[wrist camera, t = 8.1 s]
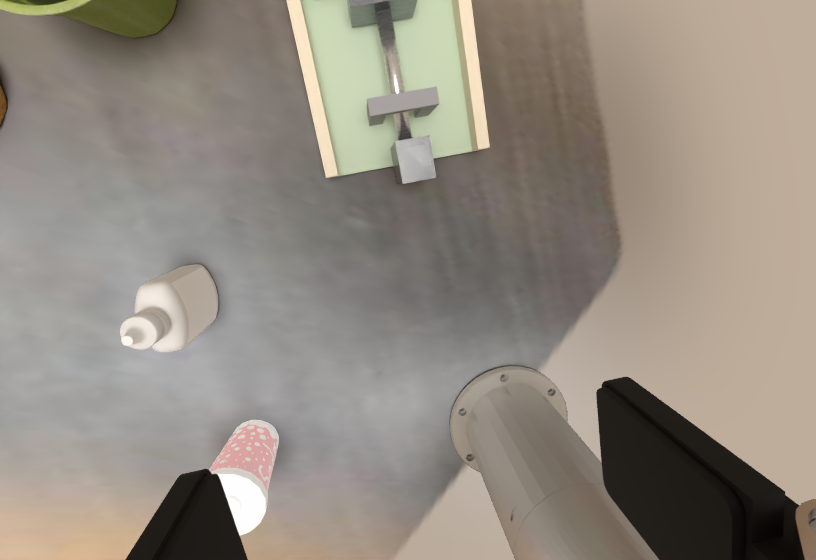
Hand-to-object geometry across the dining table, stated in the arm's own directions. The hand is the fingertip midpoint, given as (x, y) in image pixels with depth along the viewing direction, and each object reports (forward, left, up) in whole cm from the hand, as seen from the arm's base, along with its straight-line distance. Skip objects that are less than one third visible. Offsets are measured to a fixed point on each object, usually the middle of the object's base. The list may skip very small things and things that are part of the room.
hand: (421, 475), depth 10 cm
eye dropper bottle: (0, +17, -31) cm, 35 cm away
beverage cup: (-16, +16, -31) cm, 38 cm away
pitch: (+18, -4, -30) cm, 35 cm away
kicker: (+14, -4, -29) cm, 32 cm away
